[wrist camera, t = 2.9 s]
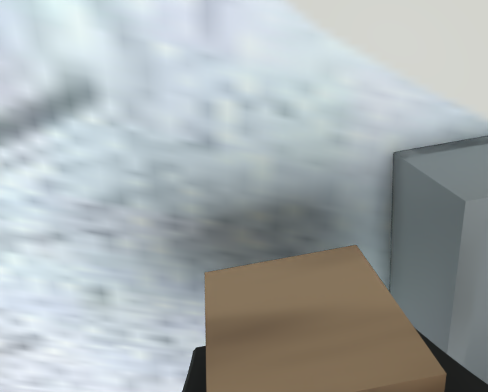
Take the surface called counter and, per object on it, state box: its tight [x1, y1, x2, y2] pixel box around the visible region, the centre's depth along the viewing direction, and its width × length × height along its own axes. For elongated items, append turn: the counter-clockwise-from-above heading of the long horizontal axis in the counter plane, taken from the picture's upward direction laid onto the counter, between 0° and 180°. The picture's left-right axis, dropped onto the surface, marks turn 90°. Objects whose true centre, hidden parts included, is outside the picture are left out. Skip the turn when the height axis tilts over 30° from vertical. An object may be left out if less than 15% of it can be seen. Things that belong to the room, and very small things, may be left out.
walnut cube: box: [205, 245, 446, 392], centre depth 11 cm, size 5×5×5 cm
